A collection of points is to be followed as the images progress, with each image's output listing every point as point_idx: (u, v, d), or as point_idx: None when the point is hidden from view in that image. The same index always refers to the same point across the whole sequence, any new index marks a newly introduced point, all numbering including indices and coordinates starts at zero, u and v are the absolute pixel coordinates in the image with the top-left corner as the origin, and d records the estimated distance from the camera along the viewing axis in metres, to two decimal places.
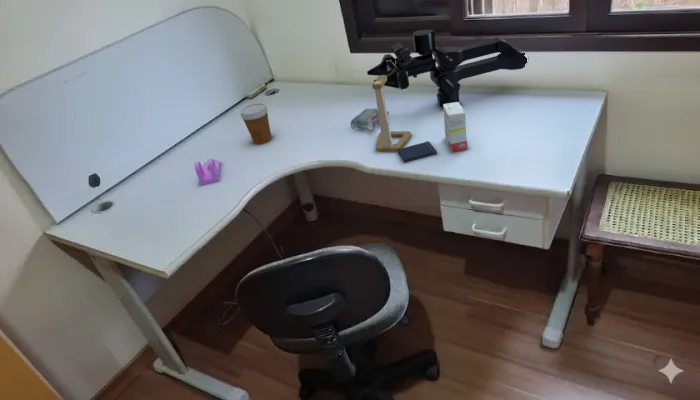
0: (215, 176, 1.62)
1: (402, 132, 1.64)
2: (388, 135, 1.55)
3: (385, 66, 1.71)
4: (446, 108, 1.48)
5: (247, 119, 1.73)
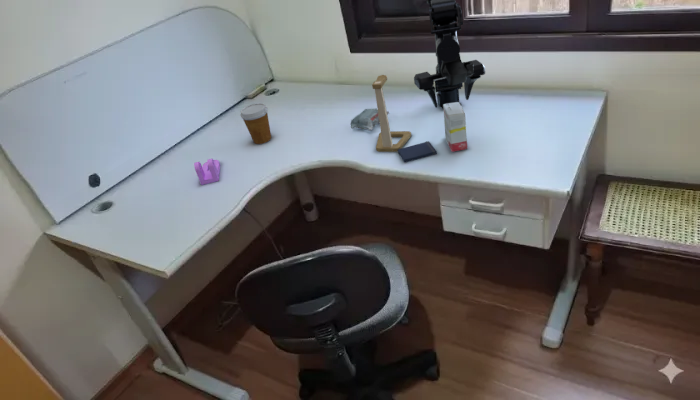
0: (215, 176, 1.62)
1: (402, 132, 1.64)
2: (388, 135, 1.55)
3: None
4: (446, 108, 1.48)
5: (247, 119, 1.73)
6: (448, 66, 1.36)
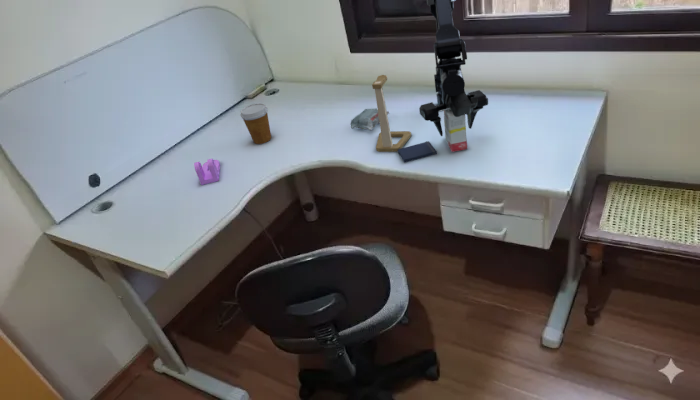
0: (215, 176, 1.62)
1: (402, 132, 1.64)
2: (388, 135, 1.55)
3: None
4: None
5: (247, 119, 1.73)
6: (453, 98, 1.41)
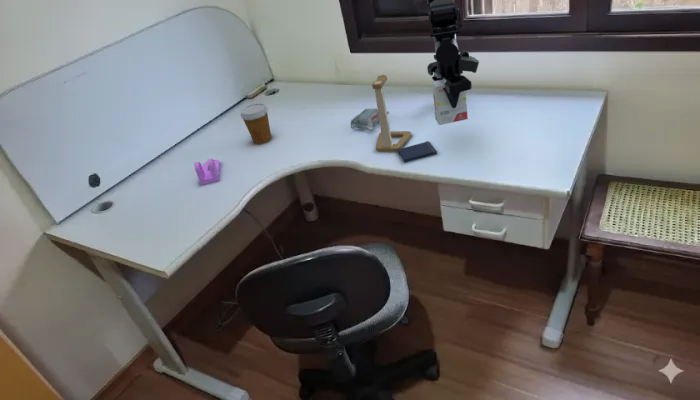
0: (215, 176, 1.62)
1: (402, 132, 1.64)
2: (388, 135, 1.55)
3: None
4: None
5: (247, 119, 1.73)
6: (465, 59, 1.41)
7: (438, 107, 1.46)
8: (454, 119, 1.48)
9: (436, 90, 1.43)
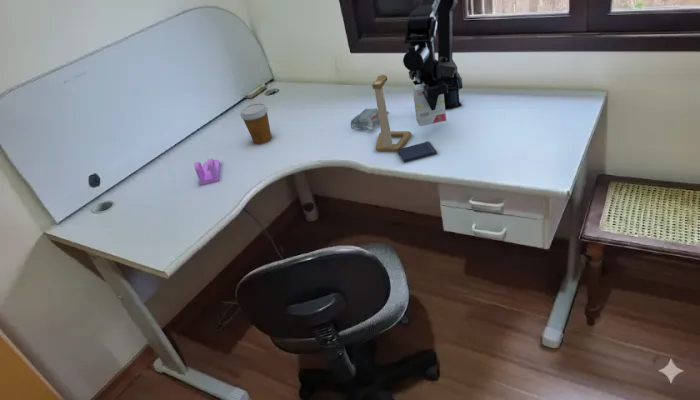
0: (215, 176, 1.62)
1: (402, 132, 1.64)
2: (388, 135, 1.55)
3: None
4: None
5: (247, 119, 1.73)
6: (443, 65, 1.51)
7: (418, 109, 1.56)
8: (433, 121, 1.58)
9: (416, 93, 1.53)
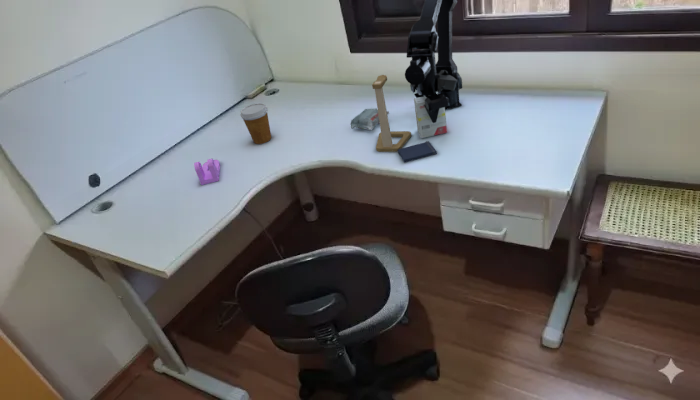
0: (215, 176, 1.62)
1: (402, 132, 1.64)
2: (388, 135, 1.55)
3: None
4: None
5: (247, 119, 1.73)
6: (444, 78, 1.53)
7: (419, 122, 1.58)
8: (434, 133, 1.61)
9: (417, 106, 1.56)
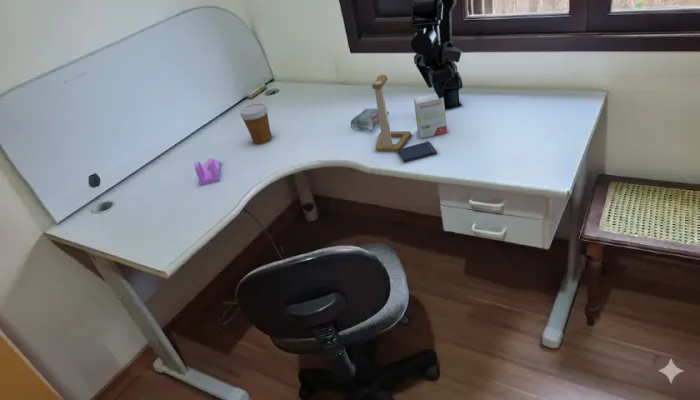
0: (215, 176, 1.62)
1: (402, 132, 1.64)
2: (388, 135, 1.55)
3: None
4: (427, 100, 1.55)
5: (247, 119, 1.73)
6: (448, 49, 1.48)
7: (419, 122, 1.58)
8: (434, 133, 1.61)
9: (417, 106, 1.56)
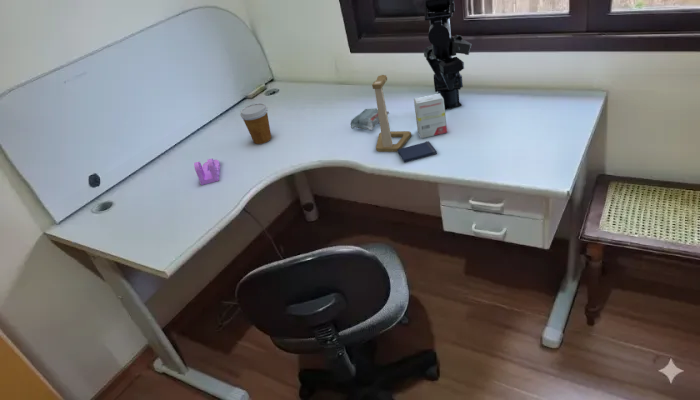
0: (215, 176, 1.62)
1: (402, 132, 1.64)
2: (388, 135, 1.55)
3: None
4: (427, 100, 1.55)
5: (247, 119, 1.73)
6: (458, 42, 1.52)
7: (419, 122, 1.58)
8: (434, 133, 1.61)
9: (417, 106, 1.56)
